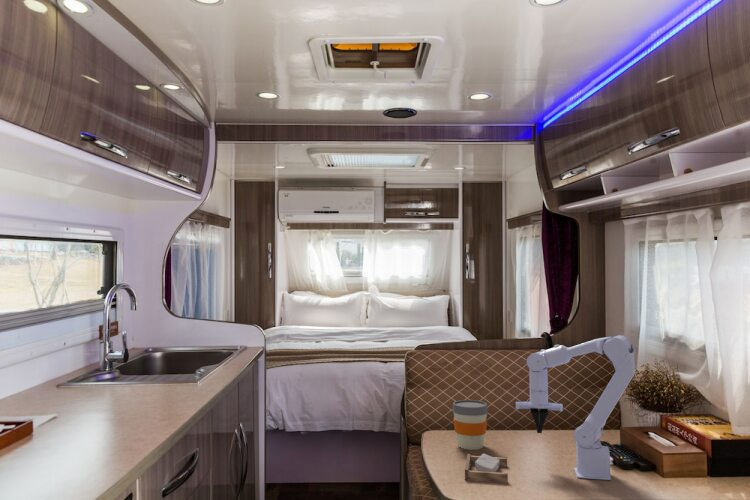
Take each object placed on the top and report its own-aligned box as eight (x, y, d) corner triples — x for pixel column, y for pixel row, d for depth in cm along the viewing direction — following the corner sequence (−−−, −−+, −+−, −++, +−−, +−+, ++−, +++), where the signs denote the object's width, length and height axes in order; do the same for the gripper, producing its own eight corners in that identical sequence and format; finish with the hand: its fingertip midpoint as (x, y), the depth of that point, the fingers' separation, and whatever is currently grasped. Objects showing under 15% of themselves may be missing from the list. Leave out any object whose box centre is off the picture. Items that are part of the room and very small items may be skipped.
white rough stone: (488, 487, 168) (491, 473, 166) (469, 478, 171) (472, 464, 169) (499, 469, 176) (502, 454, 174) (481, 460, 179) (483, 446, 177)
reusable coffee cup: (494, 449, 194) (493, 406, 194) (460, 452, 191) (460, 408, 192) (479, 439, 206) (478, 398, 207) (447, 442, 203) (447, 400, 204)
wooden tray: (507, 465, 177) (506, 456, 177) (507, 483, 163) (507, 472, 163) (467, 463, 180) (467, 453, 180) (464, 479, 165) (464, 469, 165)
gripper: (516, 391, 177) (516, 434, 176) (563, 393, 173) (564, 437, 173) (515, 386, 183) (515, 428, 183) (561, 388, 180) (561, 430, 180)
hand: (539, 432), depth 178 cm, fingers closed
